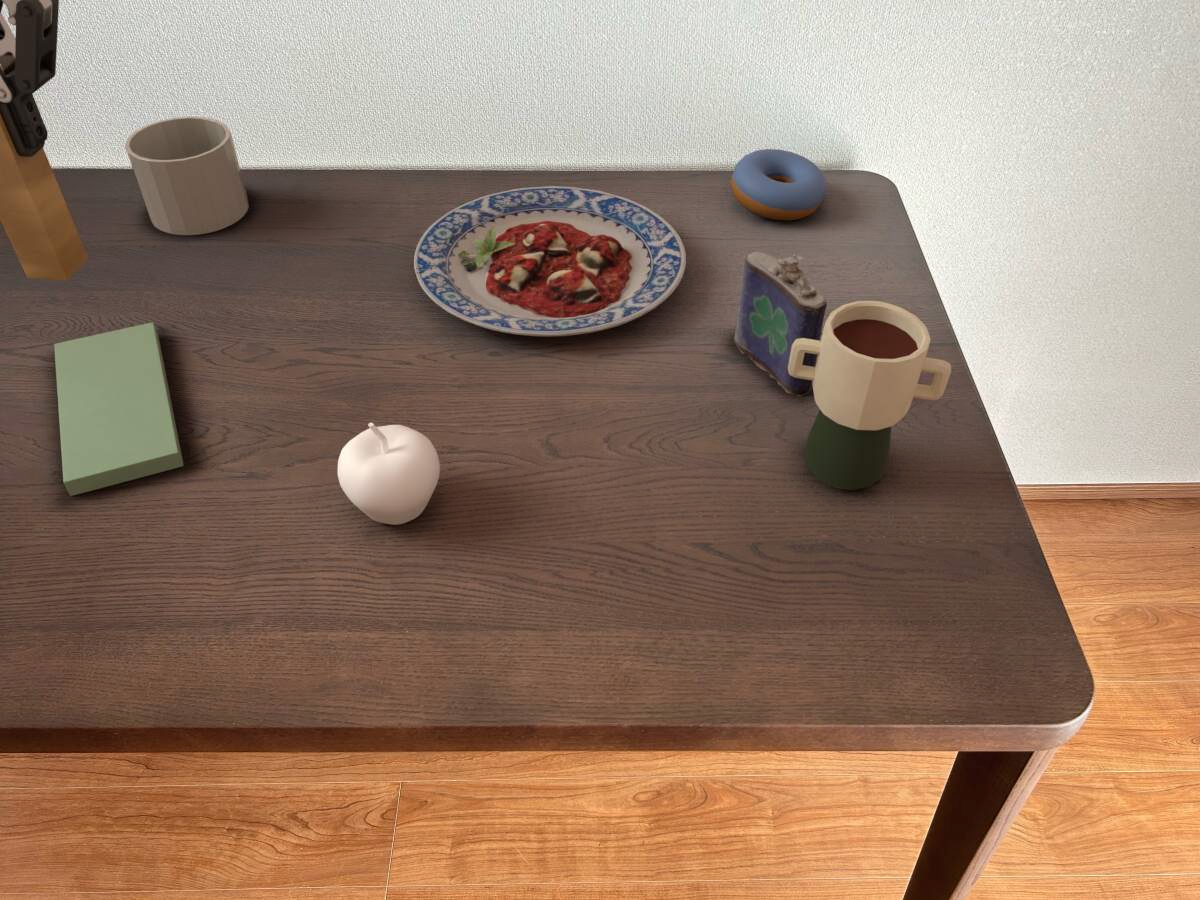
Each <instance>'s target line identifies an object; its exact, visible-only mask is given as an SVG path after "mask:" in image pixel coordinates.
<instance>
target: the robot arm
mask: <svg viewBox="0 0 1200 900" xmlns="http://www.w3.org/2000/svg"><path fill="white" fill-rule="evenodd" d="M4 5H5V6H6V8H7V13H8V18H7V20H8V21H6V19H5V17H4V14H3V13H2V11H3V6H4ZM59 10H60V0H0V115H1V117H2V119H3V122H4V124H5V126H6V129H7V131H8V133H9V136H10V138H11V140H12V143H13V145H14V147H15V150H16V152H17V154H18V155H19V156H24V157H33V156H34V155H35V154H36V153H37V152H38V151H39V150H41V149H42V148H43V149H44V147H45V144H46V141H47V140H48V129H47V127H46V124H45V123H44V120H43V117H42V115H41V112H40V110H39V107H38V105H37V102H36V100H35V97H34V95H33V94H34V93H35V92H37V91H38V90H40V89H41V88H42V87H43V86H44V85H45V84H47V83H48V82H50V81H51V80H52V79H53V78H54V77H55V76H56V71H57V70H56V69H57V51H58V32H59V31H58V30H59V29H58V28H59ZM8 22H9V23H8ZM9 24H10V25H12V26H15V35H14V32H12V31H13V30H11V27H10V25H9ZM1 67H2V68H3V69H2V68H1ZM3 70H4V71H3ZM4 72H5V73H6V75H5V73H4Z"/></svg>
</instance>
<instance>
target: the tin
mask: <svg viewBox="0 0 1200 900" xmlns="http://www.w3.org/2000/svg"><path fill="white" fill-rule="evenodd" d="M124 148H125V151H126V154H127V157H128V159H129V162H130V165H131V168H132V171H133V174H134V176H135V179H136V182H137V186H138V189H139V191H140V195H141V197H142V200H143V203H144V206H145V208H146V209H145V210H146V211H147V214H148V217H149V220H150V222H151V224H152V225H153V227H154V228H156V229H158V230H159V231H161V232H164V233H167V234H171V235H177V236H198V235H204V234H205V235H206V234H209V233H214V232H218V231H221V230H223V229H226V228H228V227H230V226H232V225H234V224H235V223H237V222H239V221H240V220H241V219H242V218H243V217H244V216H245V215H246V213H248V210H249V205H250V204H249V198H248V193H247V189H246V186H245V182H244V179H243V175H242V170H241V166H240V163H239V159H238V156H237V152H236V151H237V150H236V147H235V144H234V141H233V137H232V133H231V130H230V129H229V127H228V126H227V124H225V123H224V122H222V121H220V120H218V119H214V118H209V117H206V116H180V117H171V118H167V119H162V120H158V121H155V122H151V123H150V124H147V125H144V126H143V127H140V128H139V129H137V130H136V131H133V133H132V134H131V135H129V136H128V138H127V139H126V141H125V145H124Z"/></svg>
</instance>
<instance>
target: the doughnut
mask: <svg viewBox="0 0 1200 900" xmlns="http://www.w3.org/2000/svg"><path fill="white" fill-rule="evenodd" d="M730 187H731V190H732V193H733V196H734V198H735V199H736V200H737V201H738V202H739V203H740V205H741V206H742V207H744V209H746V210H748V211H750V212H751V213H753V214H755V215H757V216H760V217H763V218H765V219H771V220H775V221H795V220H800V219H803V218H806V217H809V216H810V215H812V214H813V213H814V212H815V211H816V210H817V209H818V208H819V206H821V205H822V202H823V200H824V197H825V196H826V190H827V180H826V178H825V175H824V174H823V172H822V170H821V169H820V168H819V167H818V166H817V165H816V164H815V163H814V161H812V160H810V159H808V158H807V157H806V156H803V155H801V154H798V153H795V152H793V151H788V150H784V149H778V148H775V149H773V148H765V149H758V150H755V151H752V152H750V153H747V154H745V155H744V156H743V157H742V158H741V159H740V160H738V162H737V163H736V164H735V166H734V169H733V171H732V175H731V178H730Z"/></svg>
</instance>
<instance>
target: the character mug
mask: <svg viewBox="0 0 1200 900" xmlns="http://www.w3.org/2000/svg"><path fill="white" fill-rule="evenodd" d="M930 345H931V335H930V333H929V330H928V328H927V326H926V325H925V324H924V323H923V322H922V321H921V320H920V318H919V317H918V316H916V315H915V314H913V313H911V312H910V311H908V310H906V309H905V308H904V307H903V308H902V307H901V306H898V305H895V304H892V303H888V302H884V301H879V300H878V301H876V300H857V301H852V302H849V303H844V304H842V305H840V306H839V307H837V308H836V309H834V310H832V311H831V312H830V314H829V315H828V317H827V319H826V320H825V323H824V325H823V328H822V332H821V337H820V340H812V339H806V338H800V339H796V340H795V341H794V343H793V344H792V348H791V353H790V358H789V364H788V372H789V374H790V375H791V376H793V377H795V378H801V379H807V380H812V384H811V386H812V390H813V398H814V403H815V405H816V406H817V407H818V409H819V410H818V412H817V414H816V417H815V419H814V421H813V424H812V426H811V428H810V431H809V433H808V436H807V438H806V442H805V444H804V447H803V450H802V453H803V459H804V464H805V466H806V467H807V468H808V469H809V471H810V472H811V473H812V475H813V476H814V477H815V478H816V479H818V480H819V481H821V482H823V483H825V484H826V485H828V486H830V487H831V488H837V489H841V490H847V491H853V490H859V489H864V488H869V487H870V486H872V485H874V484H875V483H876V482H878V481H879V480H880V479H882V477H883V475H884V473H885V470H886V468H887V465H888V459H889V453H890V445H891V435H892V427H894V426H896V424H897V423H898V422H900V421H901V420H902V419H903V418H904V417H905V416H906V415H907V414H908V412H909V410H910V408H911V405H912V402H913V400H914V398H916V399H922V400H929V401H938V400H940V398H941V397H942V396H943V395H944V393H945V390H946V389H947V385H948V382H949V379H950V377H951V372H952V364H951V363H950V362H948V361H946V360H944V359H939V358H932V357H927V354H928V350H929V347H930ZM805 352H806V353H812V354H817V356H816V363H815V367H811V366H805V365H802V364H803V359H804V353H805ZM922 372H924V373H925V372H926V373H932V374H934V376H933V379H932V382H931V385H928V384H922V383H919V380H920V377H921V374H922Z"/></svg>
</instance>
